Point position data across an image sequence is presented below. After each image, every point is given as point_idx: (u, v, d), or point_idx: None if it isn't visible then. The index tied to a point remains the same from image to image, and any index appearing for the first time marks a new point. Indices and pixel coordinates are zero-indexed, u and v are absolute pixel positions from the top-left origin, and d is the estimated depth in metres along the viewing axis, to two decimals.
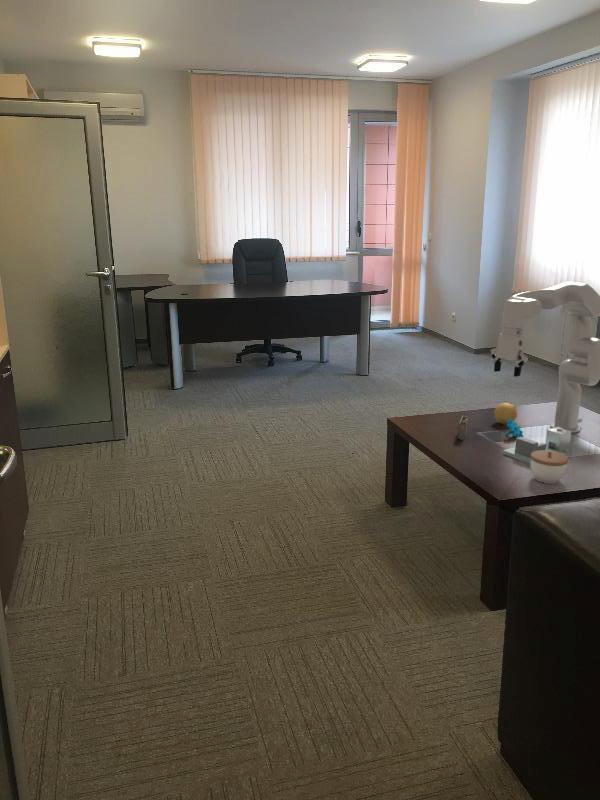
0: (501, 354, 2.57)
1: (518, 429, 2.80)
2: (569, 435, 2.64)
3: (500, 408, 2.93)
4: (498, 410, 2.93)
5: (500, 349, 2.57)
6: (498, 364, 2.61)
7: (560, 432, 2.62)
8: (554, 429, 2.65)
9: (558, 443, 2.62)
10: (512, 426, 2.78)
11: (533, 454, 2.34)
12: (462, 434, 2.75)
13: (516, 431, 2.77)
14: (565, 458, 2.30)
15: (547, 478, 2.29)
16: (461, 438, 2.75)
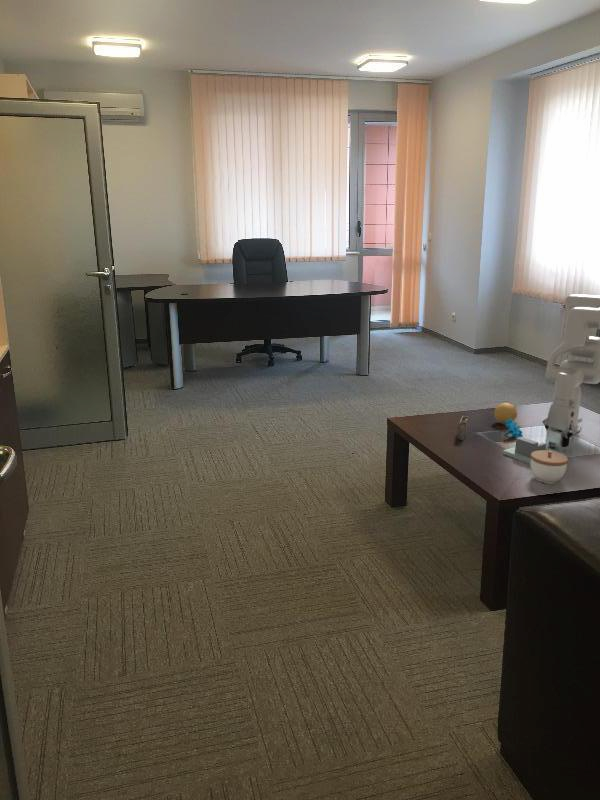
0: (552, 423, 2.64)
1: (517, 429, 2.80)
2: None
3: (500, 408, 2.93)
4: (498, 410, 2.93)
5: (551, 418, 2.64)
6: None
7: (560, 432, 2.62)
8: (554, 429, 2.65)
9: (558, 443, 2.62)
10: (511, 426, 2.78)
11: (533, 454, 2.34)
12: (462, 434, 2.75)
13: (515, 431, 2.77)
14: (565, 458, 2.30)
15: (547, 478, 2.29)
16: (461, 438, 2.75)
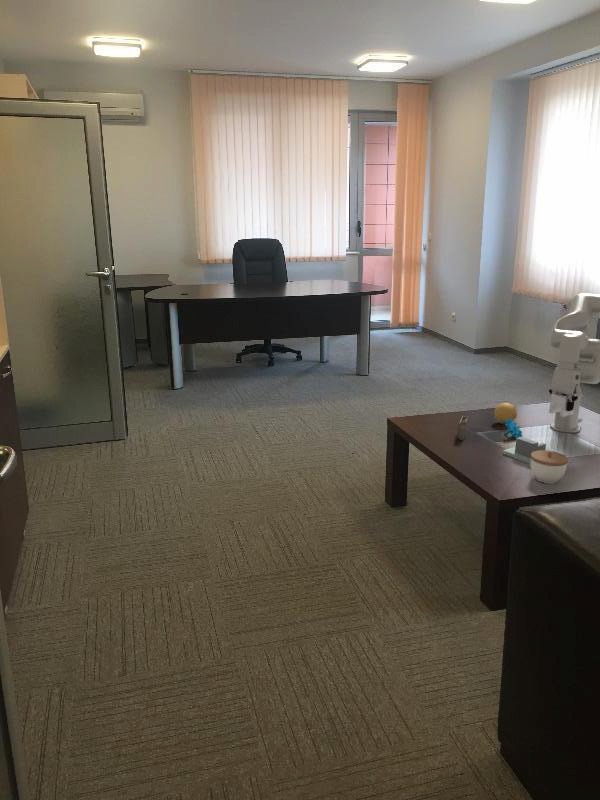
0: (557, 387, 2.60)
1: (517, 429, 2.80)
2: None
3: (500, 408, 2.93)
4: (498, 410, 2.93)
5: (556, 382, 2.59)
6: None
7: (564, 396, 2.58)
8: (558, 393, 2.61)
9: (562, 407, 2.57)
10: (511, 426, 2.78)
11: (533, 454, 2.34)
12: (462, 434, 2.75)
13: (515, 431, 2.78)
14: (565, 458, 2.30)
15: (547, 478, 2.29)
16: (461, 438, 2.75)
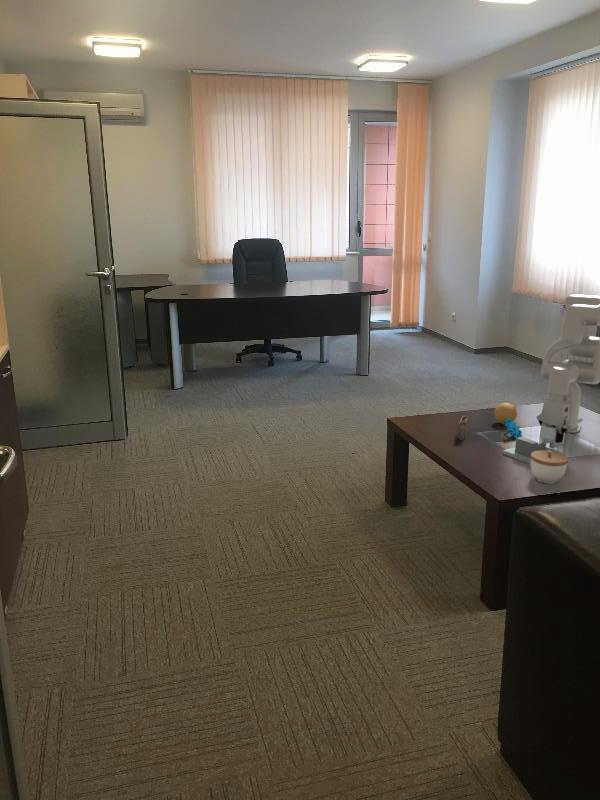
0: (546, 419, 2.61)
1: (517, 429, 2.80)
2: None
3: (500, 408, 2.93)
4: (498, 410, 2.93)
5: (545, 414, 2.61)
6: None
7: (554, 428, 2.59)
8: (548, 425, 2.62)
9: (552, 439, 2.58)
10: (510, 426, 2.78)
11: (533, 454, 2.34)
12: (462, 434, 2.75)
13: (514, 431, 2.78)
14: (565, 458, 2.30)
15: (547, 478, 2.29)
16: (461, 438, 2.75)
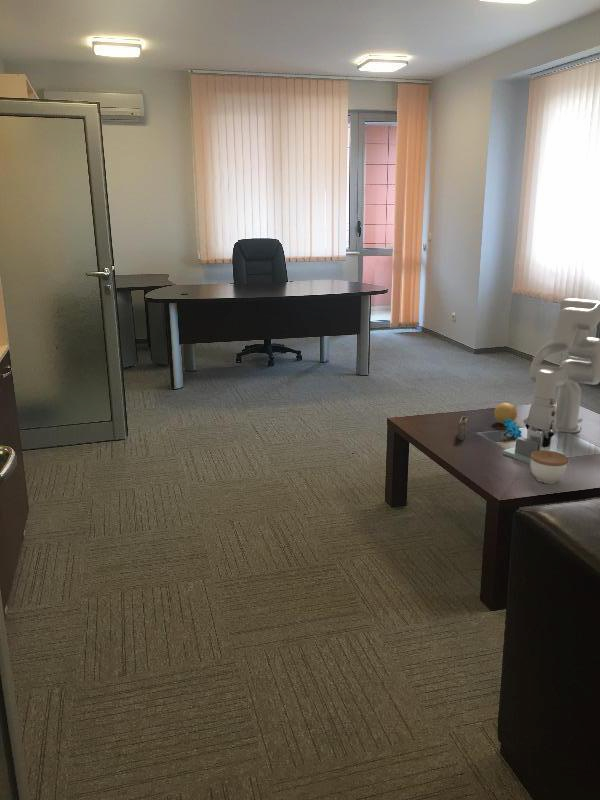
0: (533, 423, 2.56)
1: (517, 429, 2.80)
2: None
3: (500, 408, 2.93)
4: (498, 410, 2.93)
5: (532, 418, 2.56)
6: None
7: (541, 432, 2.54)
8: (535, 429, 2.58)
9: (539, 443, 2.54)
10: (510, 425, 2.79)
11: (533, 454, 2.34)
12: (462, 434, 2.75)
13: (514, 430, 2.78)
14: (565, 458, 2.30)
15: (547, 478, 2.29)
16: (461, 438, 2.75)
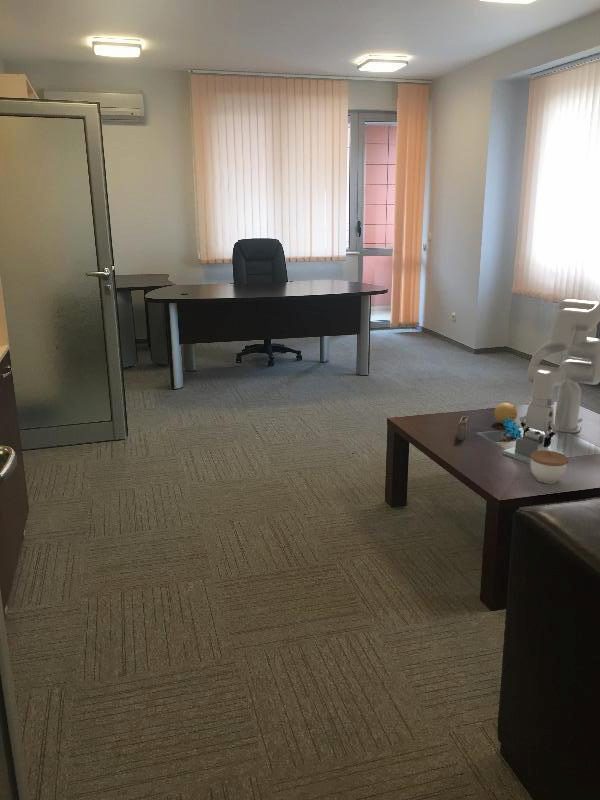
0: (531, 424, 2.55)
1: (516, 429, 2.80)
2: None
3: (500, 408, 2.93)
4: (498, 410, 2.93)
5: (530, 418, 2.55)
6: None
7: (538, 435, 2.54)
8: (532, 431, 2.57)
9: None
10: (509, 425, 2.79)
11: (533, 454, 2.34)
12: (462, 434, 2.74)
13: (513, 430, 2.78)
14: (565, 458, 2.30)
15: (547, 478, 2.29)
16: (461, 438, 2.75)
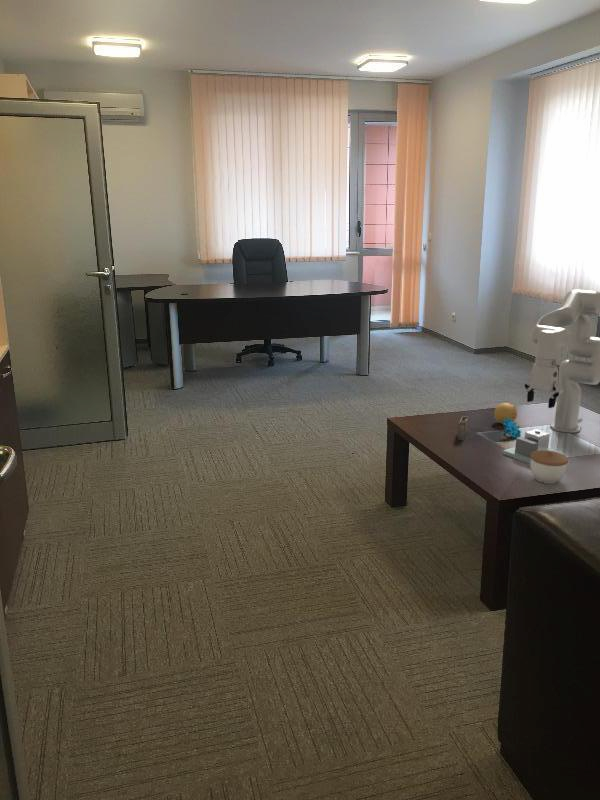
0: (535, 385, 2.53)
1: (516, 428, 2.81)
2: (548, 438, 2.56)
3: (500, 408, 2.93)
4: (498, 410, 2.93)
5: (534, 379, 2.53)
6: (531, 394, 2.58)
7: (538, 435, 2.54)
8: (532, 431, 2.57)
9: None
10: (509, 425, 2.79)
11: (533, 454, 2.34)
12: (462, 434, 2.74)
13: (513, 430, 2.78)
14: (565, 458, 2.30)
15: (547, 478, 2.29)
16: (461, 438, 2.75)
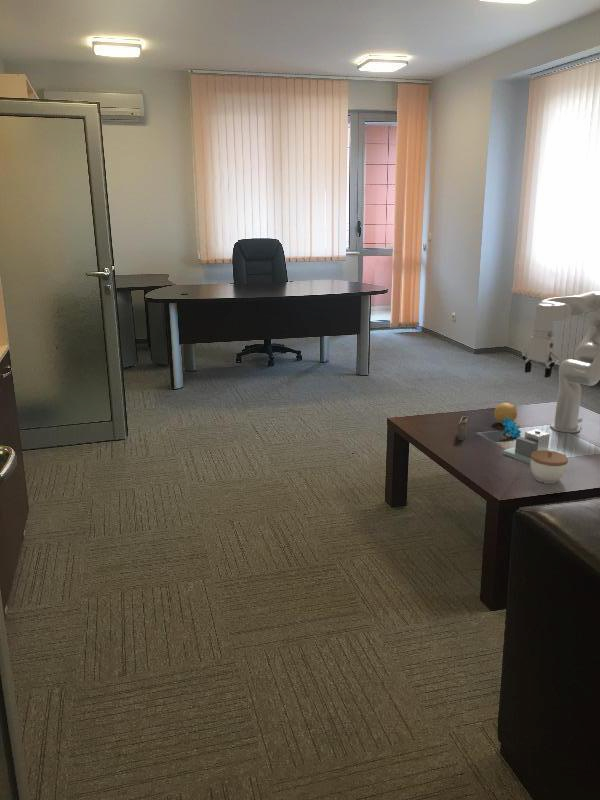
0: (532, 356, 2.69)
1: (516, 428, 2.81)
2: (548, 438, 2.56)
3: (500, 408, 2.93)
4: (498, 410, 2.93)
5: (531, 351, 2.68)
6: (529, 365, 2.73)
7: (538, 435, 2.54)
8: (532, 431, 2.57)
9: None
10: (509, 425, 2.79)
11: (533, 454, 2.34)
12: (462, 434, 2.74)
13: (512, 430, 2.78)
14: (565, 458, 2.30)
15: (547, 478, 2.29)
16: (461, 438, 2.75)
